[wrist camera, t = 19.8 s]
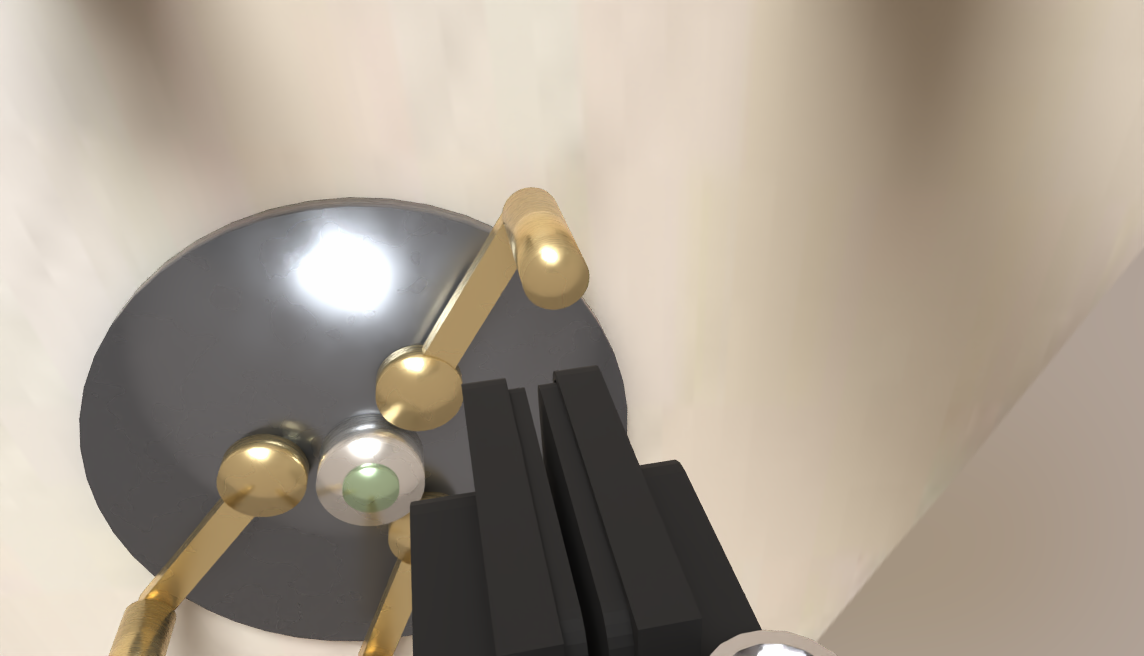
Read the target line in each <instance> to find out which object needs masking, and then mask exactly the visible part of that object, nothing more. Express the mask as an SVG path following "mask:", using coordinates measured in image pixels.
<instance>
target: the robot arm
mask: <svg viewBox="0 0 1144 656" xmlns="http://www.w3.org/2000/svg"><path fill="white" fill-rule="evenodd" d="M461 387H462V395H463V403H464V410H465V418H466V426H467V433H468V441H469V449H470V456H471V464H472V472H473V479H474V487H475V492H469V493H463V494H457V495H450V496H444V497H438V498H431V499H425V500H419V501H413V502H411V503H410V547H411V589H412V631H413V656H837V655H836V654H835V653H834V652H832V651H830V650H829V649H827V648H826V647H824V646H822V645H821V644H819V643H817V642H816V641H814V640H812V639H809V638H806V637H803V636H800V635H797V634H794V633H790V632H786V631H772V630H762V629H761V627H760V625H759V623H758V621H757V619H756V617H755V615H754V613H753V611H752V609H751V606H750V604H749V602H748V600H747V598H746V596H745V594H744V592H743V590H742V588H741V586H740V584H739V582H738V580H737V578H736V575H735V573H734V571H733V569H732V567H731V565H730V563H729V561H728V559H727V557H726V555H725V553H724V551H723V549H722V546H721V544H720V542H719V540H718V538H717V536H716V534H715V532H714V530H713V528H712V526H711V524H710V522H709V520H708V517H707V515H706V513H705V511H704V509H703V507H702V505H701V503H700V501H699V499H698V497H697V495H696V493H695V491H694V488H693V486H692V484H691V482H690V480H689V478H688V476H687V474H686V472H685V470H684V469H683V467H682V465H681V464H680V462H678V461H677V460H670V461H664V462H658V463H651V464H645V465H639V463H638V461H637V458H636V456H635V453H634V451H633V448H632V446H631V444H630V441H629V439H628V436H627V434H626V431H625V429H624V427H623V424H622V422H621V419H620V417H619V414H618V412H617V410H616V407H615V405H614V402H613V400H612V397H611V395H610V393H609V390H608V388H607V385H606V383H605V380H604V378H603V376H602V373H601V371H600V369H599V367H598V366H597V365H593V366H586V367H578V368H571V369H564V370H557V371H553V383H549V384H542V385H538V403H539V416H540V428H541V440H542V453H543V458H542V454H541V450H540V446H539V442H538V438H537V434H536V430H535V426H534V422H533V418H532V414H531V410H530V406H529V402H528V398H527V394H526V391H525V388H524V387H521V388H514V389H508V387H507V382H506V379H505V378H500V379H493V380H486V381H479V382H472V383H465V384H461Z"/></svg>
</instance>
